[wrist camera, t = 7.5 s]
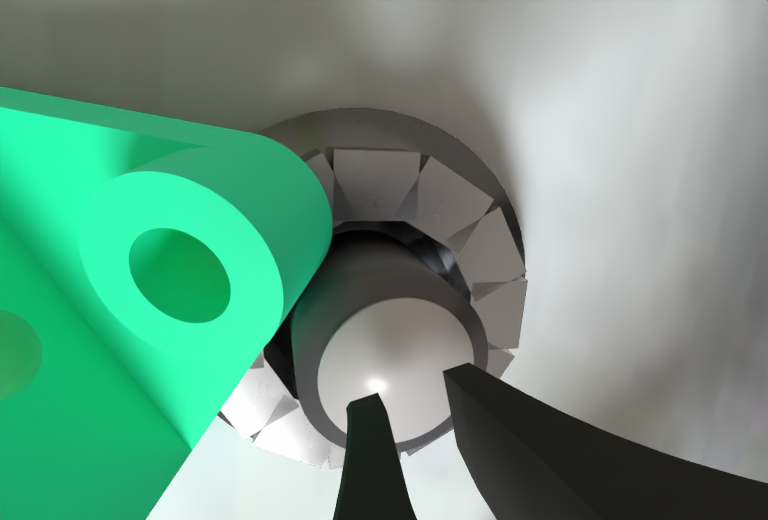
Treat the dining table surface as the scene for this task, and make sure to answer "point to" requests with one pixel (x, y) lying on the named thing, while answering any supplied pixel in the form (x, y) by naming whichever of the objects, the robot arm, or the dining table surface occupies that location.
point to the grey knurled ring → (409, 225)
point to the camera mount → (134, 293)
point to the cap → (380, 338)
